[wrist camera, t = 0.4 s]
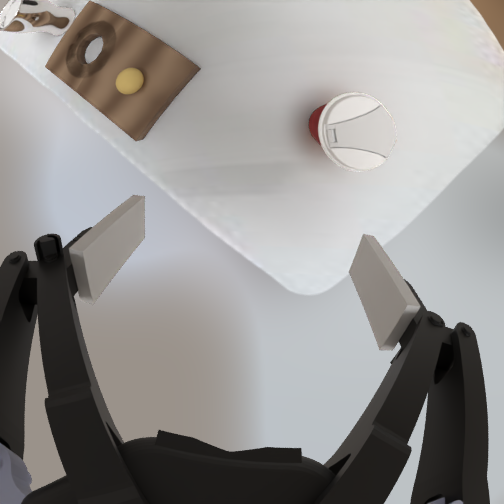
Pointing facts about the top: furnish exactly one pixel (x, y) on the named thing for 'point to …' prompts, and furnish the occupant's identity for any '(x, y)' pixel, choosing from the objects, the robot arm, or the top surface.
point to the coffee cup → (354, 131)
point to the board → (120, 69)
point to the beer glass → (35, 17)
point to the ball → (129, 81)
